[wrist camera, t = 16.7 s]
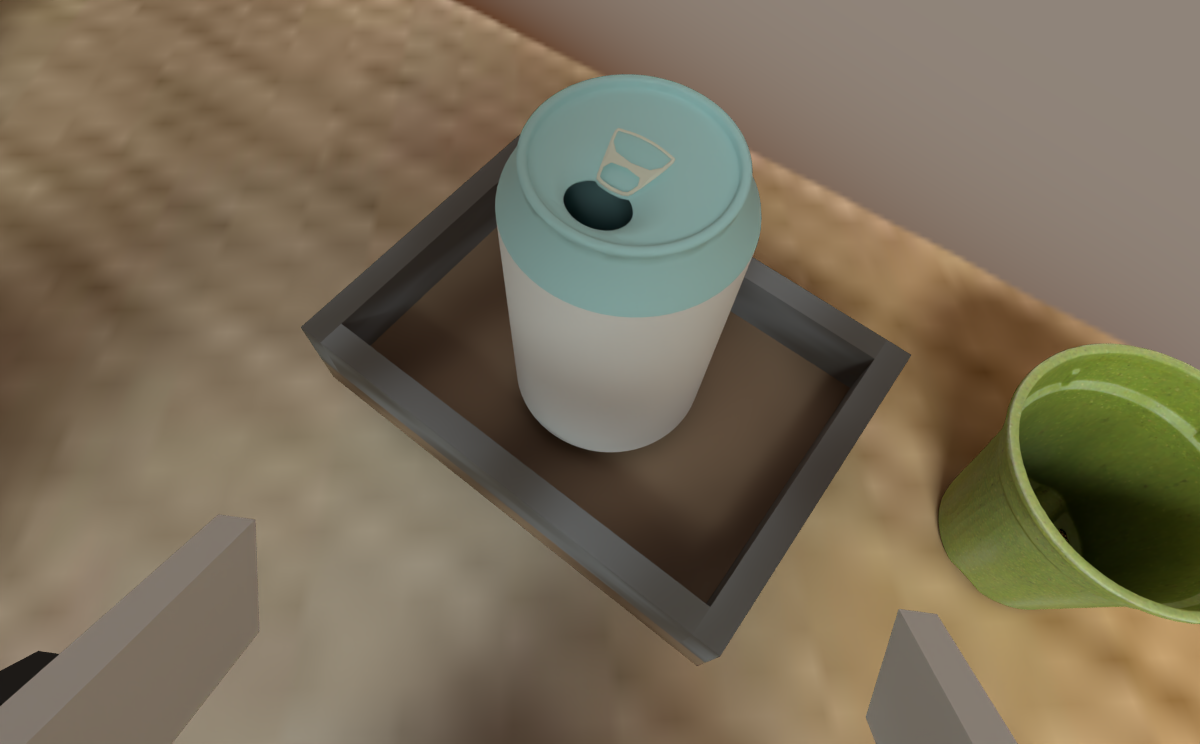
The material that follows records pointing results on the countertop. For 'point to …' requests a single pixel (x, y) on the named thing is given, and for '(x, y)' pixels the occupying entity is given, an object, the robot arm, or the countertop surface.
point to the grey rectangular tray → (615, 479)
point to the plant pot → (1087, 488)
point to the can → (622, 254)
